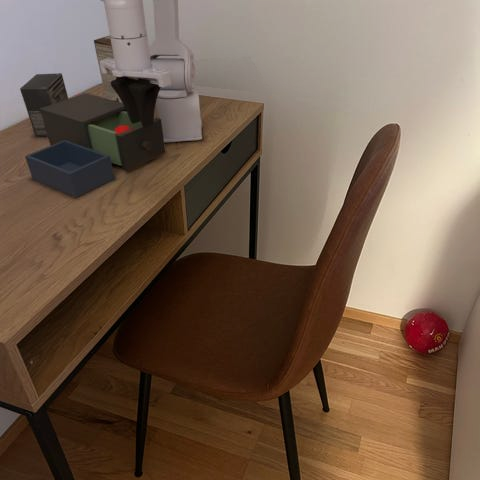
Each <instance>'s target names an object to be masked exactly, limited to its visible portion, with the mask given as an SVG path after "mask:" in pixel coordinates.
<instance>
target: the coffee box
mask: <svg viewBox="0 0 480 480" xmlns="http://www.w3.org/2000/svg"><path fill="white" fill-rule="evenodd" d="M93 43H94V49H95V54H96V59H97V64H98V69H99V73H100V78H101V83H102V87H103V93H104V98H106V99H110V100H113V101H117V102H121V103H122V101H121V99H120V97H119V96H118V94H117V93H116V91H115V90H114V89H113V88H112V86H111V81H113V80H116V76H113V75H112V74H110V73H108V74H103V73H102V71H101V66H100V61H101V60H105V59H108V58H109V59H114V55H113V49H112V44H111V38H110V35H106V36H103V37H100V38H96V39H93Z"/></svg>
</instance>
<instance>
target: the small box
mask: <svg viewBox="0 0 480 480" xmlns="http://www.w3.org/2000/svg"><path fill="white" fill-rule="evenodd" d="M19 90H20V93H21V96H22V101H23V103H24V106H25V108H26V112H27V115H28V118H29V121H30V124H31V128H32V130H33V134H34V136H35V137H48V135H47V132H46V128H45V125H44V121H43V118H42V115H41V111H40V108H43V107H46V106H49V105H52V104H55V103H58V102H61V101H64V100H67V99H69V96H68V92H67V88H66V84H65V80H64V78H63V73H62V72H59V73H36V74H35V75H34V76H33V77H32V78H30V79H29V80H28V81H27V82H26V83H25V84H24V85H22V86H21V87H20V88H19Z"/></svg>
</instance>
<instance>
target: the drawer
mask: <svg viewBox="0 0 480 480" xmlns="http://www.w3.org/2000/svg"><path fill="white" fill-rule="evenodd" d="M121 125H126V126H129V127H130V128H132V129H129V130H127V131H125V132H122V133H120V134H117V132H115V131H114V130H115V129H116V128H117V127H118V126H121ZM86 127H87V131H88V136H89V140H90V144H91V148H92V150H95V151H98V152H101V153H104V154H106V155H109V156H110V159H111V163H112V164H114V165H116V166H120V167H121V168H122V170H123V171H125V172H128V171H131V170H132V169H135V168H136V167H138V166H141V165H143V164H145V163H147V162H149V161H151V160H153V159H155V158H157V157H159V156H161V155H163V154H165V153H166V147H165V143H164V138H163V130H162V123H161V119H159V118H158V117H156V118H155V117H154V120H153V124H152V125H150V126H147V127H143V126H142V124H141V121H140V122H137V123H135V124H133V123H131V121H130V119H129V116H128V114H127V112H126V111H119V112H117V113H114V114H112V115H109V116H106V117H104V118H101V119H99V120H96V121H94V122H91V123H88V124H86Z"/></svg>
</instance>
